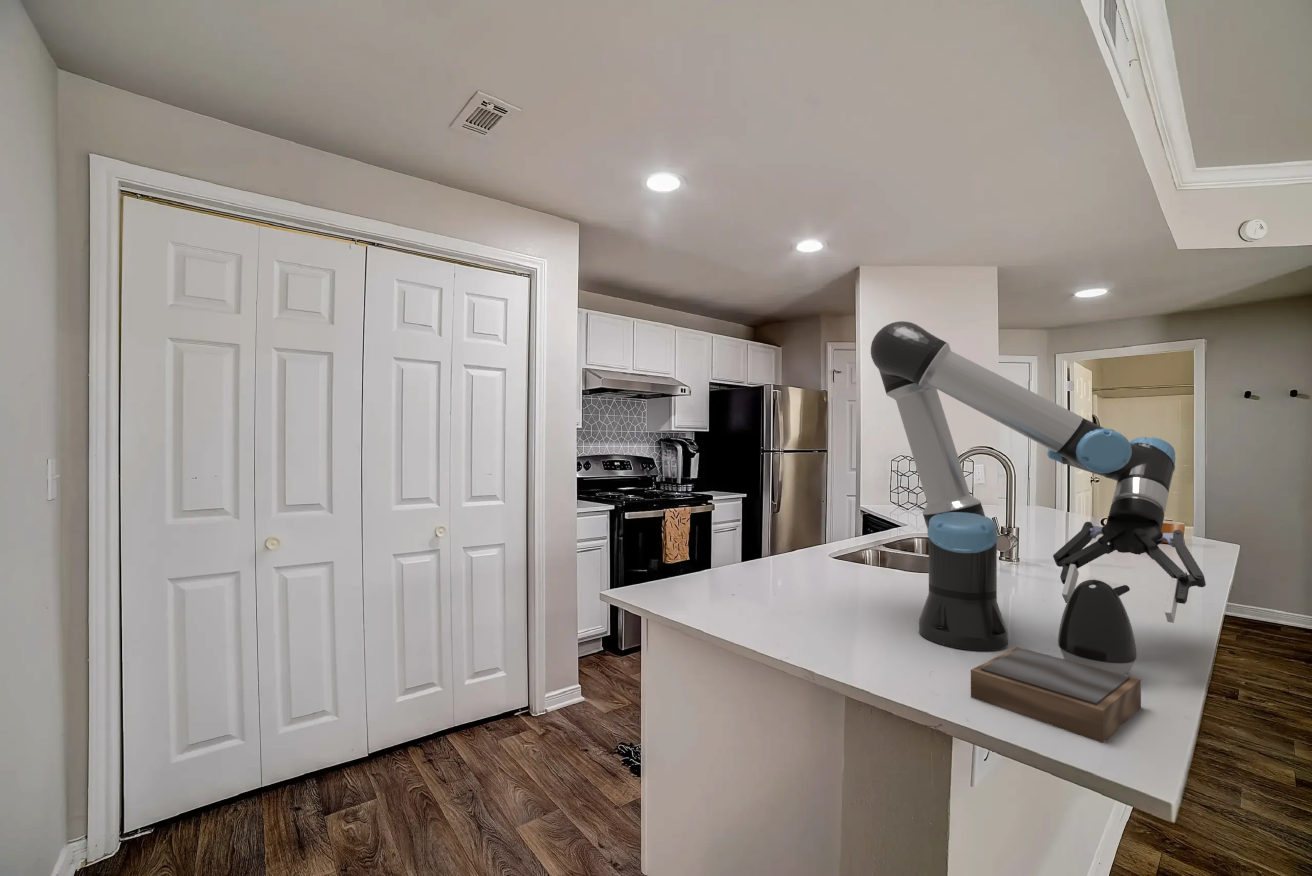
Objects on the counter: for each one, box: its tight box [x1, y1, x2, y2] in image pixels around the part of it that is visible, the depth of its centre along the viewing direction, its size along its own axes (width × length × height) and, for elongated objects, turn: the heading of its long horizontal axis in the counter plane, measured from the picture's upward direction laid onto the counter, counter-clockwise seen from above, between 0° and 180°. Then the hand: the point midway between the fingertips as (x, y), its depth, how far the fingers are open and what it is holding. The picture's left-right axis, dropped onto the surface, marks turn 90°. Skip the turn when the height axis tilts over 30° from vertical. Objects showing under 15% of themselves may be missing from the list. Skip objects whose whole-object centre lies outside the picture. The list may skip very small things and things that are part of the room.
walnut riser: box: [970, 646, 1142, 743], centre depth 83 cm, size 16×16×4 cm
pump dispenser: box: [1057, 579, 1138, 676], centre depth 94 cm, size 10×10×15 cm
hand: (1114, 608), depth 95 cm, fingers open, 13 cm apart
